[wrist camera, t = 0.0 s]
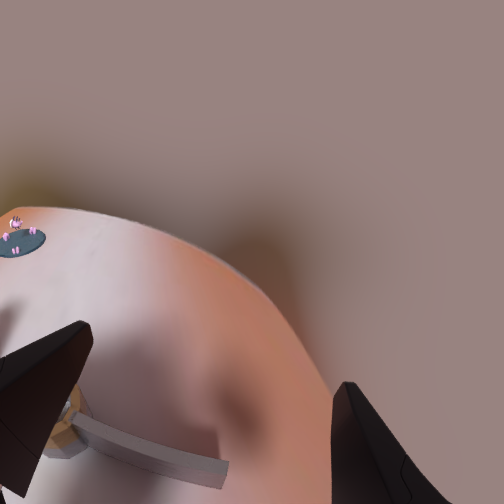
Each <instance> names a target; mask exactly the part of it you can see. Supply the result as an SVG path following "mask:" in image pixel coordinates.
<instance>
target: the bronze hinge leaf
mask: <svg viewBox="0 0 504 504" xmlns="http://www.w3.org/2000/svg"><path fill="white" fill-rule="evenodd" d="M73 410H75V411H74V412H76V411H78V412H80V413H82V414H84V415H86V416H87V410H86V401H85V399H84V397H83V395H82V393H81V390H80V388H79V387H78V385H77V384H75V386H74V388H73V390H72V392H71V406H70V408H69V410H68V411H67V413H66V415H65V417H64V418H63V420H62V421H60V422H58V423H56V424H55V426H54V428H53V430H52V432H51V435H50V437H49V439H48V441H47V443H46V446H45V448H48V449H61V448H63V447H65V446H67V445H68V444H70V443H72V442H74V441H75V440H77V439H78V438H79V436H80V435H79V433H78V432H77V430H76V429H75V427H74V426H73V424H72V421H71V422H69V421H70V420H69V417H70V416H71V414H72V412H73ZM76 413H77V412H76ZM73 416H74V415H73ZM71 417H72V416H71ZM74 417H75V416H74ZM71 419H72V418H71Z"/></svg>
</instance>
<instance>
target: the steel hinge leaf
mask: <svg viewBox="0 0 504 504" xmlns="http://www.w3.org/2000/svg"><path fill="white" fill-rule="evenodd" d="M67 401H69V402H71V394H70V396H69V398H68V400H67ZM86 410H87V416H86V415H84V414H82V413H80V412H78V411H76V412H77V413H76V412H74V411H75V410H73V412H72V414H71V416H72V417H71V416H70V417H69V420H70V421H69V422H71V421H72V424H73V426H74V427H75V429H76V430H77V432H78V433H79V435H80V436H79V438H78V439H77V440H75V441H74V442H72V443H70V444H68V445H67V446H65V447H63V448H61V449H48V448H44V450H43V452H42V454H44V455H46V456H47V457H49V458H61V459H70V458H71V457H73V456H75V455H77V454H78V453H80V452H82V451H84V450H85V449H86V448H87V446H89V447H91V448H93V449H95V450H97V451H100V452H102V453H104V454H106V455H109V456H111V457H113V458H116V459H118V460H121V461H123V462H126V463H128V464H131V465H134V466H136V467H139V468H142V469H145V470H148V471H151V472H154V473H157V474H160V475H164V476H167V477H170V478H174V479H177V480H181V481H185V482H189V483H193V484H197V485H202V486H206V487H211V488H216V489H221V488H222V486H223V483H224V481H225V478H226V476H227V471H228V465H229V461H225V460H220V459H215V458H210V457H206V456H201V455H197V454H193V453H189V452H185V451H181V450H178V449H174V448H171V447H167V446H164V445H161V444H157V443H154V442H151V441H148V440H145V439H142V438H139V437H137V436H134V435H131V434H129V433H126V432H123V431H121V430H118V429H116V428H113V427H111V426H108V425H106V424H104V423H101V422H99V421H97V420H95V419H93V418H92V413H91V411H90V409H89V407H88V405H87V403H86ZM73 415H74V416H75V417H74V416H73ZM71 418H72V419H71Z"/></svg>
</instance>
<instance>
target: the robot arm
mask: <svg viewBox="0 0 504 504" xmlns="http://www.w3.org/2000/svg"><path fill="white" fill-rule="evenodd" d="M92 346H93V335H92V331H91V327H90V325H89V323H87V322H84V321H81V320H79V321H76V322H74V323H72V324H70V325H68V326H66V327H64V328H62V329H60V330H58V331H55V332H53V333H51V334H49V335H47V336H45V337H43V338H41V339H39V340H37V341H35V342H33V343H31V344H29V345H27V346H25V347H23V348H20V349H18V350H16V351H14V352H12V353H10V354H8V355H6V357H5V356H4V357H2V358H0V504H6V502H5V500H4V496H3V493H2V490H1V489H2V487H3V486H4V487H6V488H7V489H9V490H10V491H12V492H14V493H15V494H17V495H19V496H20V497H22V498H25V496H26V493H27V490H28V488H29V485H30V482H31V480H32V477H33V475H34V472H35V470H36V467H37V465H38V462H39V459H40V457H41V455H42V452H43V450H44V448H45V446H46V443H47V441H48V439H49V437H50V435H51V432H52V430H53V428H54V426H55V424H56V422H57V420H58V418H59V416H60V414H61V412H62V410H63V408H64V406H65V404H66V402H67V400H68V398H69V396H70V394H71V392H72V390H73V388H74V386H75V384H76V383H77V381H78V379H79V377H80V374H81V372H82V370H83V367H84V365H85V362H86V360H87V357H88V355H89V353H90V350H91V348H92ZM331 472H332V504H452V503H450V502H448V501H447V500H446V499H445V498H444V497H443V496H442V495H441V494H440V493H439V492H438V490H437V489H436V488H435V487H434V486H433V485H432V484H431V483H430V482H429V481H428V480H427V478H426V477H425V476H424V475H423V474H422V473H421V472H420V471H419V469H418V468H417V467H416V465H415V464H414V463H413V461H412V460H411V459H410V457H409V456H408V455H407V454H406V452H405V450H404V449H403V448H402V446H401V445H400V443H399V442H398V441H397V439H396V438H395V437H394V435H393V434H392V433H391V431H390V430H389V428H388V427H387V426H386V424H385V423H384V421H383V420H382V419H381V417H380V416H379V415H378V413H377V412H376V410H375V409H374V408H373V406H372V405H371V404H370V403H369V401H368V399H367V398H366V397H365V396H364V394H363V393H362V391H361V390H360V389H359V387H358V386H357V384H356V383H354V382H346V381H345V382H343V383H342V384H341V386H340V387H339V389H338V390H337V392H336V394H335V395H334V398H333V409H332V424H331Z"/></svg>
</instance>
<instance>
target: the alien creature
mask: <svg viewBox="0 0 504 504" xmlns="http://www.w3.org/2000/svg"><path fill="white" fill-rule="evenodd" d="M14 217H15V216H14ZM14 217H13V220H11V221H10V227H11V228H15V229H16V228H19V226H20V225H21V224H22V221H21V222H17V220H18V219H17V218H18V216H17V218H16V221H15V220H14ZM19 220H20V218H19ZM20 227H21V226H20ZM19 229H20V228H19ZM16 230H17V229H16ZM45 240H46V236H45V234H44V233H43V232H42V231H40V230H37V229H36V228H35V227H34V228H33V227H31V228H30V229H22V230H18V231H15V232H12V233H10V234H8V233H6V232H5V234H4V235H3V237H2V238H1V239H0V257H5V258H13V257H19V256H23V255H26V254H29V253H31V252H33V251H35V250H36V249H38V248H39V247H41V246H42V245H43V243H44V242H45Z"/></svg>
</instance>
